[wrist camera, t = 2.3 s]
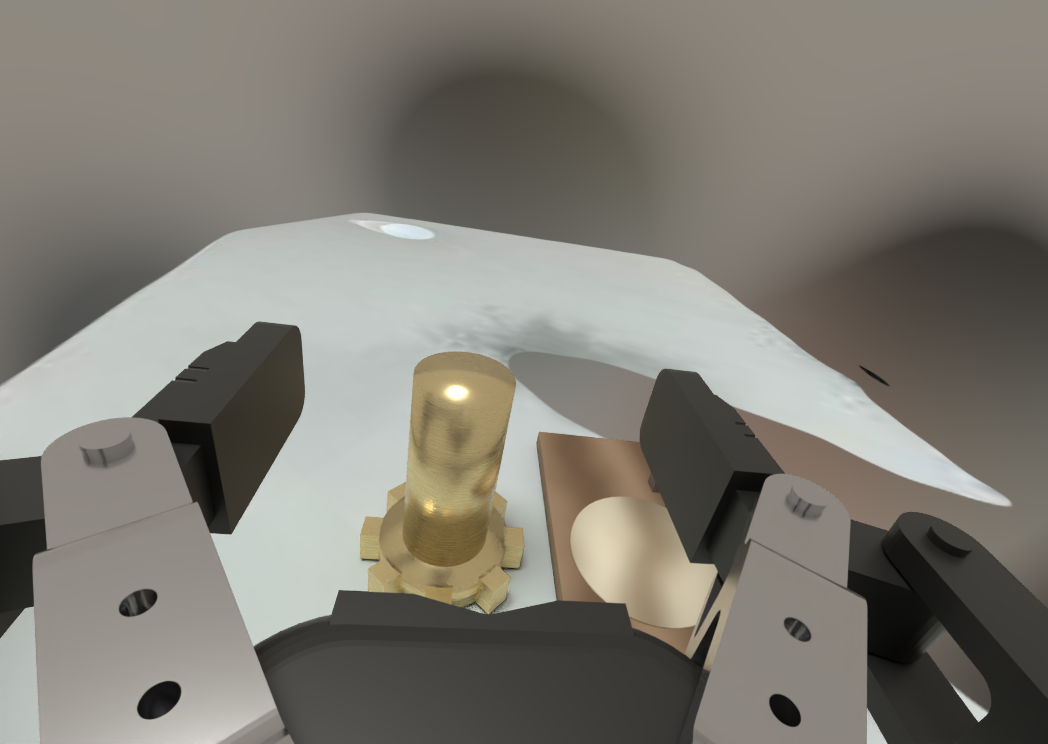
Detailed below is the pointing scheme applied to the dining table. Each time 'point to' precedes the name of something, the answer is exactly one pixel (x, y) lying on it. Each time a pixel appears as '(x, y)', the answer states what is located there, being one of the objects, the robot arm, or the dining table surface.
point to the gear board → (617, 536)
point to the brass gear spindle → (450, 490)
